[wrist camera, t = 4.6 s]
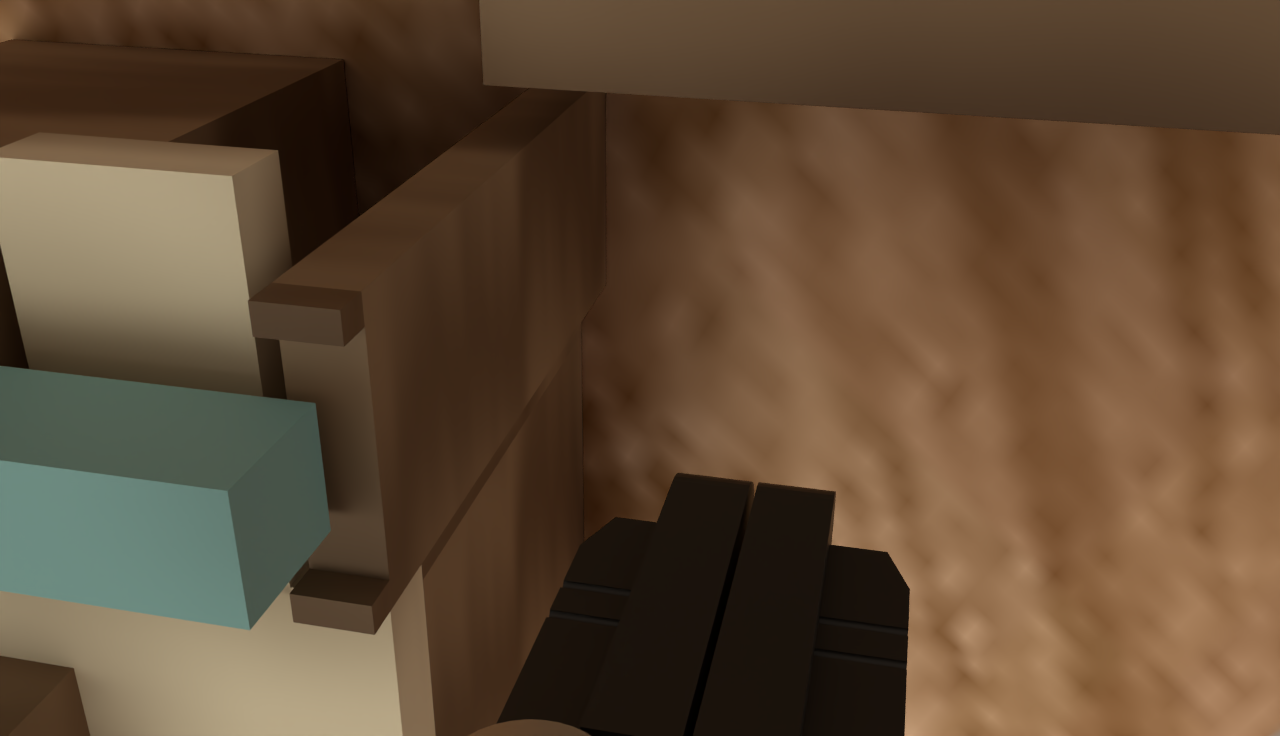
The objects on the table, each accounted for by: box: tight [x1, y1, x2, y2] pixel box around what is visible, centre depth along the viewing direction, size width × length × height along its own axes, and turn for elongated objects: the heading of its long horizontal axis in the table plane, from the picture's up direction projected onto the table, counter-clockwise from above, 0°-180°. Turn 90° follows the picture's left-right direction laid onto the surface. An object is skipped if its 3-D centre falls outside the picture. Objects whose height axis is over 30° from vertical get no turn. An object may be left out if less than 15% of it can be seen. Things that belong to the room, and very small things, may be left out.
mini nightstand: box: [0, 40, 606, 736], centre depth 21 cm, size 13×12×11 cm
